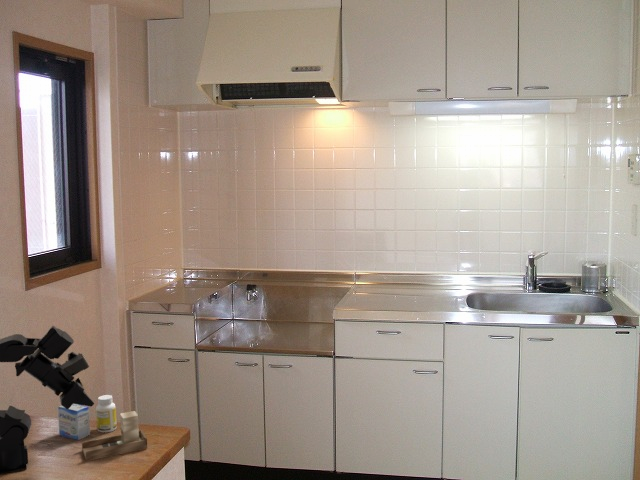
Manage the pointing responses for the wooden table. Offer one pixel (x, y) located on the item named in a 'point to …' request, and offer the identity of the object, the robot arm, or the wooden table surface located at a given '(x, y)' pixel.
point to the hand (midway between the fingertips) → (92, 404)
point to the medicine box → (74, 421)
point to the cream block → (129, 427)
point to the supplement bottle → (106, 414)
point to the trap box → (112, 446)
